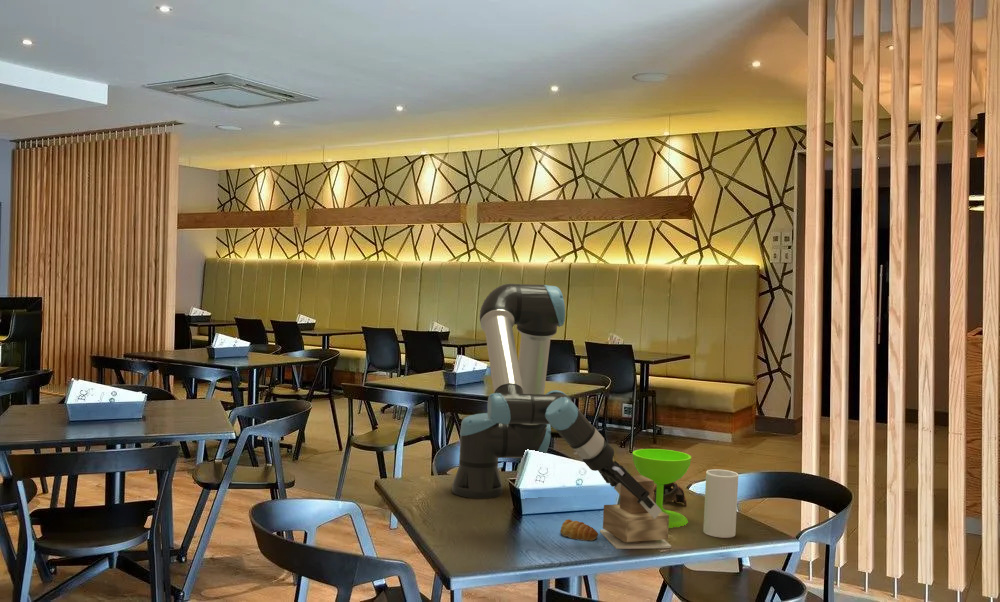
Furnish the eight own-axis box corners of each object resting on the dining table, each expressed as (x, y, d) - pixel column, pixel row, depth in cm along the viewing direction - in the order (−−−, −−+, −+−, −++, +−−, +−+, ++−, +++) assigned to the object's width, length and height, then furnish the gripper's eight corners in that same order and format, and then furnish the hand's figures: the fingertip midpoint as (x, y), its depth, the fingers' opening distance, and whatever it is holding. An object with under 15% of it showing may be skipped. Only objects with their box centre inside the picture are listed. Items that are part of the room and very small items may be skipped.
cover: (625, 542, 215) (627, 485, 215) (602, 528, 226) (605, 474, 226) (667, 539, 219) (670, 483, 219) (643, 525, 231) (646, 472, 230)
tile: (616, 548, 215) (616, 546, 215) (600, 531, 229) (600, 529, 229) (671, 548, 217) (671, 545, 217) (651, 531, 231) (651, 529, 231)
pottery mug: (693, 511, 256) (684, 488, 253) (663, 524, 256) (654, 501, 253) (679, 490, 267) (671, 468, 264) (651, 503, 267) (642, 481, 264)
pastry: (602, 538, 224) (603, 523, 224) (590, 544, 219) (590, 529, 218) (570, 530, 229) (570, 516, 229) (557, 536, 224) (557, 522, 224)
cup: (737, 531, 235) (740, 471, 234) (733, 539, 227) (736, 477, 226) (705, 526, 238) (708, 468, 237) (700, 534, 230) (703, 473, 230)
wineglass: (617, 514, 246) (620, 450, 246) (663, 509, 254) (666, 447, 253) (653, 530, 232) (656, 462, 232) (700, 524, 240) (703, 458, 239)
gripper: (563, 450, 228) (612, 506, 234) (605, 471, 206) (659, 532, 211) (582, 429, 230) (631, 485, 236) (627, 448, 207) (680, 509, 213)
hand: (644, 507), depth 224 cm, fingers closed on cover, 12 cm apart
